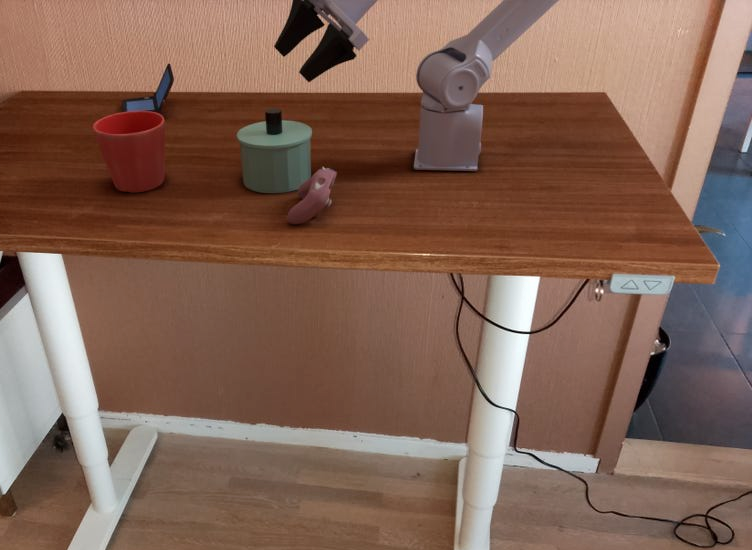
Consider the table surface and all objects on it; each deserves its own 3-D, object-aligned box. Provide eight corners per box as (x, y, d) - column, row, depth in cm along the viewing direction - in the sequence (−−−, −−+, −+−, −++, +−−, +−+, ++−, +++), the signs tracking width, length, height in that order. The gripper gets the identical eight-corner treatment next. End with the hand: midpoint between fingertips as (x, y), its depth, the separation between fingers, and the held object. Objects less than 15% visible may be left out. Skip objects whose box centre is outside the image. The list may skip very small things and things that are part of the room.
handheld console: (122, 105, 148) (116, 67, 144) (174, 99, 149) (170, 61, 145) (123, 123, 138) (116, 83, 134) (179, 117, 139) (174, 77, 135)
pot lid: (305, 124, 112) (304, 96, 110) (318, 148, 103) (318, 118, 101) (233, 131, 111) (231, 103, 109) (241, 156, 102) (239, 126, 100)
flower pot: (117, 203, 107) (104, 139, 101) (96, 179, 115) (84, 119, 109) (183, 187, 111) (174, 124, 105) (158, 165, 119) (149, 105, 113)
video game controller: (313, 237, 98) (336, 194, 94) (283, 222, 97) (305, 179, 93) (324, 207, 106) (345, 166, 101) (296, 193, 105) (316, 151, 101)
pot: (304, 164, 116) (302, 121, 112) (316, 189, 107) (315, 143, 103) (240, 171, 115) (236, 128, 111) (247, 196, 106) (243, 151, 102)
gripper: (320, -57, 97) (251, 23, 101) (376, -13, 89) (299, 72, 93) (346, -22, 103) (280, 53, 106) (401, 22, 94) (327, 102, 98)
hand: (290, 64), depth 100 cm, fingers open, 7 cm apart
